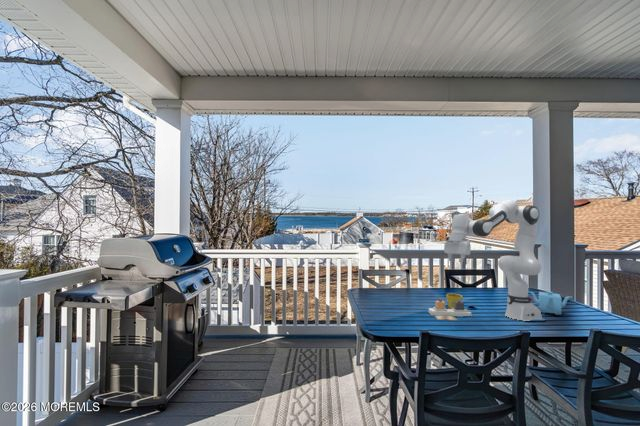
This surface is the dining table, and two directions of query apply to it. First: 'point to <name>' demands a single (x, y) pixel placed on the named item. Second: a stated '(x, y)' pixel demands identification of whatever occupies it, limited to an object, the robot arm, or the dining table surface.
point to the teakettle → (550, 302)
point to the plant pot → (453, 299)
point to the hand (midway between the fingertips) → (455, 261)
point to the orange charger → (440, 304)
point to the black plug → (459, 305)
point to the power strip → (449, 312)
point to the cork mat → (445, 318)
